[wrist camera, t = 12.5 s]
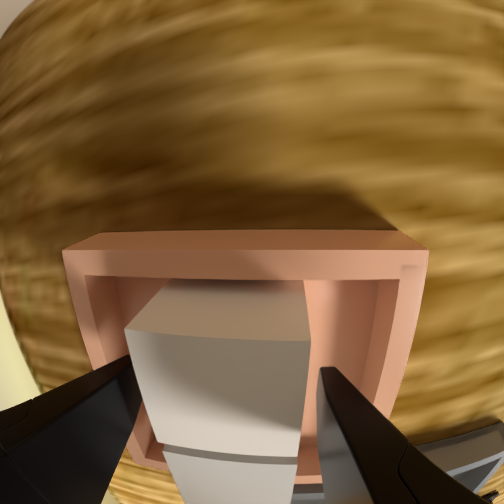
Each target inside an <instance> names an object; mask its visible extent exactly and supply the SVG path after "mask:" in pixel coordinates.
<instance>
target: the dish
mask: <svg viewBox="0 0 504 504" xmlns="http://www.w3.org/2000/svg"><path fill="white" fill-rule="evenodd" d="M62 255H63V260H64V266H65V271H66V275H67V280H68V285H69V289H70V293H71V297H72V301H73V305H74V309H75V313H76V317H77V320H78V324H79V327H80V331H81V334H82V337H83V341H84V344H85V347H86V350H87V353H88V356H89V359H90V362H91V365H92V368H93V370H96V369H98V368H100V367H102V366H104V365H106V364H108V363H110V362H112V361H114V360H116V359H119V358H121V357H123V356H125V355H127V354H130V352H129V348H128V344H127V340H126V336H125V332H124V328H125V327H126V326H127V325H128V324H129V323H130V322H131V321H132V320H133V318H134V317H135V316H136V315H137V314H138V313H139V312H140V311H141V310H142V309H143V308H144V307H145V305H146V304H147V303H148V302H149V301H150V300H151V299H152V298H153V297H154V296H155V295H156V294H157V293H158V292H159V291H160V289H161V288H162V287H163V286H164V285H165V284H166V283H167V282H168V281H169V280H170V279H171V278H180V279H225V280H303V281H304V288H305V296H306V303H307V311H308V318H309V326H310V334H311V350H310V360H309V370H308V380H307V389H306V397H305V405H304V413H303V421H302V428H301V435H300V442H299V449H298V465H297V471H296V476H295V482H294V484H314V483H322V476H321V469H320V462H319V455H318V447H317V411H316V390H317V382H318V374H319V369H320V367H328V366H334V367H336V368H337V369H338V370H339V371H340V372H341V373H342V374H343V375H344V376H345V377H346V378H347V379H348V380H349V381H350V382H351V383H352V384H353V385H354V386H355V387H356V388H357V389H358V390H359V391H360V392H361V393H362V394H363V395H364V396H365V397H366V398H367V399H368V400H369V401H370V402H371V403H372V404H373V405H374V406H375V407H376V408H377V409H378V410H379V411H380V412H381V413H382V414H383V415H384V416H385V417H386V418H387V419H389V417H390V414H391V411H392V408H393V405H394V402H395V399H396V396H397V393H398V390H399V387H400V384H401V381H402V378H403V374H404V371H405V367H406V364H407V360H408V357H409V353H410V349H411V345H412V341H413V337H414V333H415V328H416V324H417V319H418V315H419V310H420V305H421V300H422V294H423V289H424V283H425V276H426V270H427V263H428V255H429V250H428V249H427V248H425V247H424V246H422V245H421V244H419V243H418V242H416V241H415V240H413V239H412V238H410V237H409V236H407V235H406V234H404V233H402V232H401V231H397V230H314V229H267V230H182V231H139V232H107V233H98V234H96V235H94V236H91V237H89V238H87V239H85V240H82V241H80V242H78V243H76V244H74V245H71V246H69V247H67V248H65V249H63V250H62ZM164 445H165V444H164V443H159V442H157V439H156V436H155V433H154V431H153V428H152V425H151V422H150V419H149V416H148V413H147V410H146V407H145V404H144V401H143V400H142V403H141V406H140V410H139V413H138V416H137V419H136V422H135V425H134V428H133V430H132V433H131V435H130V437H129V439H128V442H127V444H126V447H127V449H128V451H129V453H130V455H131V457H132V459H133V461H134V462H135V463H136V464H140V465H144V466H148V467H152V468H156V469H161V470H165V471H170V469H169V467H168V464H167V462H166V459H165V457H164V454H163V452H162V450H163V448H164ZM170 472H171V471H170Z"/></svg>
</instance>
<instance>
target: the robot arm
mask: <svg viewBox="0 0 504 504" xmlns="http://www.w3.org/2000/svg"><path fill="white" fill-rule="evenodd" d="M142 400H143V398H142V395H141V391H140V388H139V385H138V381H137V378H136V374H135V371H134V367H133V364H132V360H131V356H130V354H127V355H125V356H123V357H121V358H119V359H116V360H114V361H112V362H110V363H108V364H106V365H104V366H102V367H100V368H98V369H96V370H94V371H91V372H89V373H87V374H85V375H83V376H81V377H79V378H76V379H74V380H72V381H70V382H68V383H66V384H64V385H61V386H59V387H57V388H55V389H53V390H50V391H48V392H46V393H44V394H41V395H39V396H37V397H35V398H33V400H32V399H30V400H28V401H26V402H23V403H21V404H19V405H16V406H14V407H11V408H9V409H6V410H3V411H0V504H101V502H102V500H103V498H104V495H105V493H106V490H107V488H108V486H109V483H110V481H111V479H112V476H113V474H114V472H115V469H116V467H117V465H118V462H119V460H120V458H121V455H122V453H123V451H124V448H125V446H126V444H127V442H128V439H129V437H130V435H131V433H132V430H133V428H134V425H135V422H136V419H137V416H138V413H139V410H140V406H141V403H142ZM316 411H317V447H318V455H319V462H320V469H321V476H322V483H323V491H324V498H325V504H493V502H492V501H493V500H494V499H495V498H496V497H497V496H498V495H499V493H498V491H497V492H495V493H492V494H490V495H488V496H486V497H484V498H481V497H480V496H478V495H477V494H475V493H474V492H472V491H471V490H470V489H468V488H467V487H465V486H464V485H462V484H461V483H460V482H458V481H457V480H455V479H454V478H453V477H451V476H450V475H448V474H447V473H446V472H445V471H443V470H442V469H441V468H439V467H438V466H437V465H436V464H434V463H433V462H432V461H431V460H430V459H429V458H428V457H426V456H425V455H424V454H423V453H422V452H421V451H420V450H419V449H418V448H417V447H416V446H415V445H414V444H413V443H412V442H409V440H408V439H407V438H406V437H405V436H404V435H403V434H402V433H401V432H400V431H399V430H398V429H397V428H396V427H395V426H394V425H393V424H392V423H391V422H390V421H389V420H388V419H387V418H386V417H385V416H384V415H383V414H382V413H381V412H380V411H379V410H378V409H377V408H376V407H375V406H374V405H373V404H372V403H371V402H370V401H369V400H368V399H367V398H366V397H365V396H364V395H363V394H362V393H361V392H360V391H359V390H358V389H357V388H356V387H355V386H354V385H353V384H352V383H351V382H350V381H349V380H348V379H347V378H346V377H345V376H344V375H343V374H342V373H341V372H340V371H339V370H338V369H337V368H336V367H334V366H328V367H320V369H319V374H318V382H317V390H316Z"/></svg>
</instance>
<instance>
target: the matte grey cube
mask: <svg viewBox="0 0 504 504" xmlns="http://www.w3.org/2000/svg"><path fill="white" fill-rule="evenodd" d="M162 452H163V454H164V457H165V459H166V462H167V464H168V467H169V469H170V471H171V474H172V476H173V478H174V481H175V483H176V485H177V487H178V490H179V492H180V494H181V496H182V498H183V500H184V502H185V503H186V504H290V503H291V498H292V493H293V487H294V482H295V476H296V471H297V465H298V455H297V457H281V456H257V455H242V454H231V453H222V452H213V451H206V450H199V449H192V448H186V447H180V446H174V445H169V444H165V445H164V448H163V450H162Z"/></svg>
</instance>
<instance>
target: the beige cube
mask: <svg viewBox="0 0 504 504" xmlns="http://www.w3.org/2000/svg"><path fill="white" fill-rule="evenodd" d="M124 332H125V336H126V340H127V344H128V348H129V352H130V356H131V360H132V364H133V367H134V371H135V374H136V378H137V381H138V385H139V388H140V391H141V395H142V398H143V401H144V404H145V407H146V410H147V413H148V416H149V419H150V422H151V425H152V428H153V431H154V433H155V436H156V439H157V442H159V443H164V444H169V445H174V446H180V447H186V448H192V449H199V450H206V451H213V452H222V453H231V454H242V455H257V456H281V457H297V455H298V449H299V442H300V435H301V428H302V421H303V413H304V405H305V397H306V389H307V380H308V370H309V360H310V350H311V334H310V326H309V318H308V311H307V303H306V296H305V288H304V281H303V280H225V279H180V278H171V279H170V280H169V281H168V282H167V283H166V284H165V285H164V286H163V287H162V288H161V289H160V291H159V292H158V293H157V294H156V295H155V296H154V297H153V298H152V299H151V300H150V301H149V302H148V303H147V304H146V305H145V307H144V308H143V309H142V310H141V311H140V312H139V313H138V314H137V315H136V316H135V317H134V318H133V320H132V321H131V322H130V323H129V324H128V325H127V326H126V327H125V328H124Z"/></svg>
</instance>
